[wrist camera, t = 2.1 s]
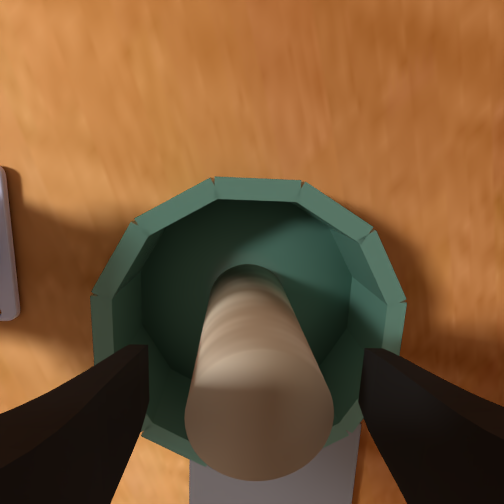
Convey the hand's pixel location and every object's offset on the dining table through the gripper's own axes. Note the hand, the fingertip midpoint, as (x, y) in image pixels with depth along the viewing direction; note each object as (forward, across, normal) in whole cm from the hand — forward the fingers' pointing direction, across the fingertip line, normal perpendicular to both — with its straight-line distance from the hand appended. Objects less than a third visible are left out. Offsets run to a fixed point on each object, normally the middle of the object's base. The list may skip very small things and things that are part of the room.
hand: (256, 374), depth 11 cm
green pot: (+8, 0, 0) cm, 8 cm away
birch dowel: (+7, 0, 0) cm, 7 cm away
